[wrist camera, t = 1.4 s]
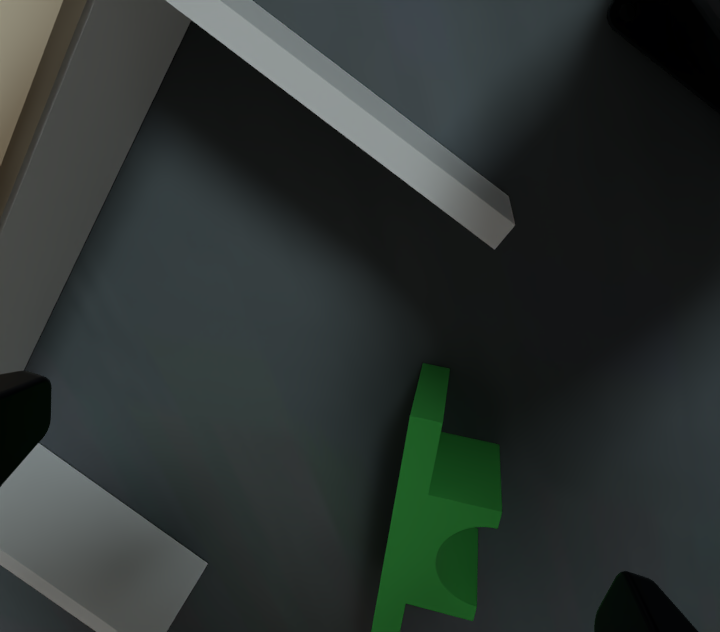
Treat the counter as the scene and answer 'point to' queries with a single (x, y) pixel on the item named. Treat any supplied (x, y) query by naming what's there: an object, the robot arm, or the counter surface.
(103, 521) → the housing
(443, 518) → the pipe clamp
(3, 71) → the lid
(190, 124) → the counter surface
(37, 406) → the robot arm
